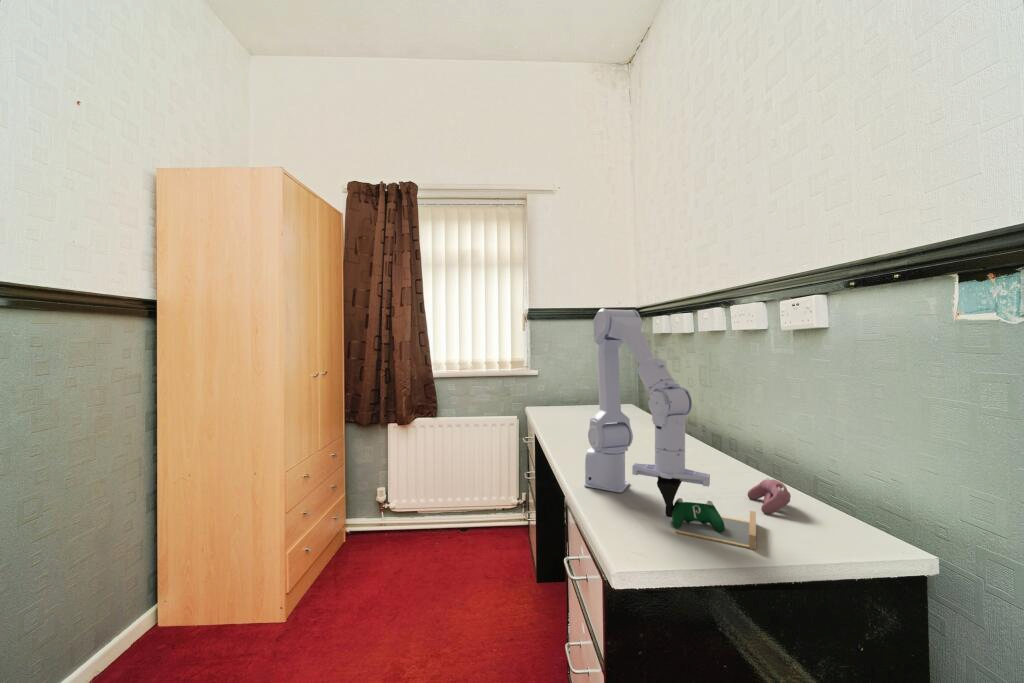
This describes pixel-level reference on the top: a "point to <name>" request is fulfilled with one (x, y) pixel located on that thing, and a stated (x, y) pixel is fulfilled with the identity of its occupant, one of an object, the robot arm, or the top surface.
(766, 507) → the video game controller
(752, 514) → the tray
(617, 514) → the top surface
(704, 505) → the gaming controller
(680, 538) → the top surface
